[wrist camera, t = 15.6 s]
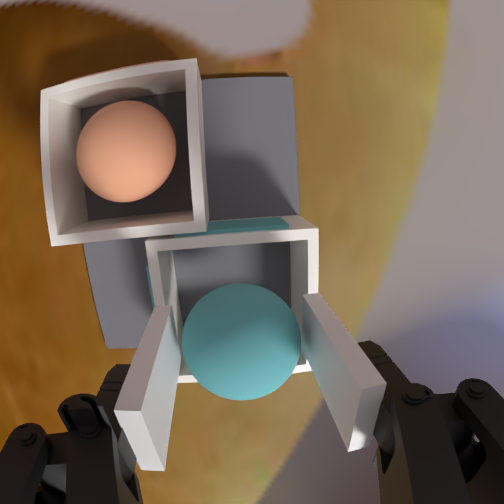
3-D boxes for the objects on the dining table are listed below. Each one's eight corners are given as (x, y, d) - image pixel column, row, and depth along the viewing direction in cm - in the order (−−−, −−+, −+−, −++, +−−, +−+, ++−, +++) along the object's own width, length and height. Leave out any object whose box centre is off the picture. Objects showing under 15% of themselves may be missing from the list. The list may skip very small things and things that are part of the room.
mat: (75, 102, 15) (72, 101, 15) (290, 78, 16) (292, 76, 16) (108, 345, 20) (107, 348, 19) (298, 333, 21) (300, 336, 20)
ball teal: (180, 272, 15) (165, 320, 10) (286, 263, 15) (318, 306, 10) (193, 362, 16) (188, 428, 11) (287, 353, 16) (312, 415, 11)
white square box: (73, 101, 15) (37, 87, 11) (201, 80, 16) (196, 54, 12) (82, 229, 17) (48, 246, 13) (209, 216, 18) (206, 231, 14)
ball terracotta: (97, 119, 15) (57, 103, 11) (180, 105, 16) (164, 80, 11) (102, 203, 17) (62, 214, 12) (185, 193, 17) (170, 200, 12)
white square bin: (158, 220, 18) (140, 237, 14) (295, 210, 18) (318, 223, 14) (176, 342, 20) (167, 383, 16) (297, 332, 20) (314, 369, 16)
